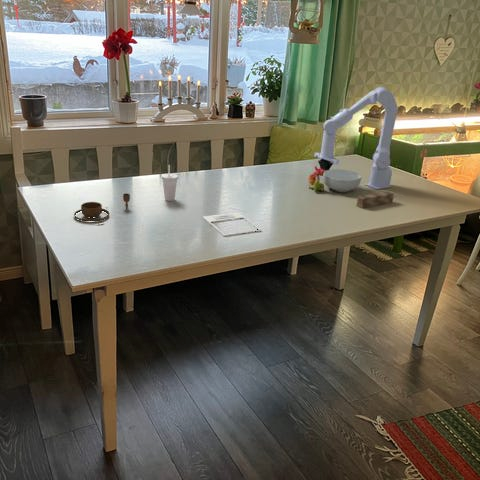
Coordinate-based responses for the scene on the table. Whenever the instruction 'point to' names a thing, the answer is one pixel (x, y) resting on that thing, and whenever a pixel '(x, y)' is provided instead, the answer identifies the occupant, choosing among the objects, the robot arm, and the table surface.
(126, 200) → the place setting
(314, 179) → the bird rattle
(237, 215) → the photo frame
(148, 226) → the table surface
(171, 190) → the smoothie
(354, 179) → the cereal bowl
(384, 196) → the block
